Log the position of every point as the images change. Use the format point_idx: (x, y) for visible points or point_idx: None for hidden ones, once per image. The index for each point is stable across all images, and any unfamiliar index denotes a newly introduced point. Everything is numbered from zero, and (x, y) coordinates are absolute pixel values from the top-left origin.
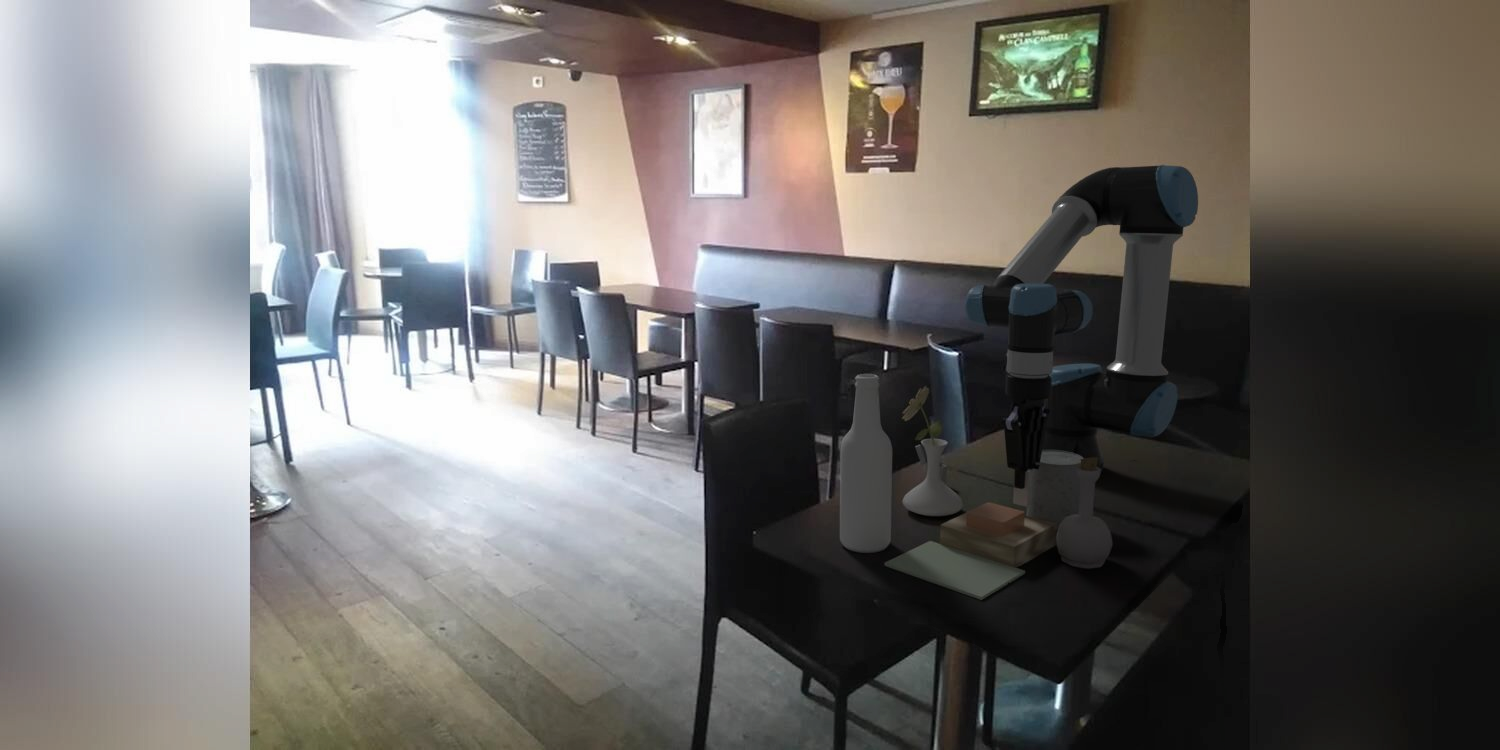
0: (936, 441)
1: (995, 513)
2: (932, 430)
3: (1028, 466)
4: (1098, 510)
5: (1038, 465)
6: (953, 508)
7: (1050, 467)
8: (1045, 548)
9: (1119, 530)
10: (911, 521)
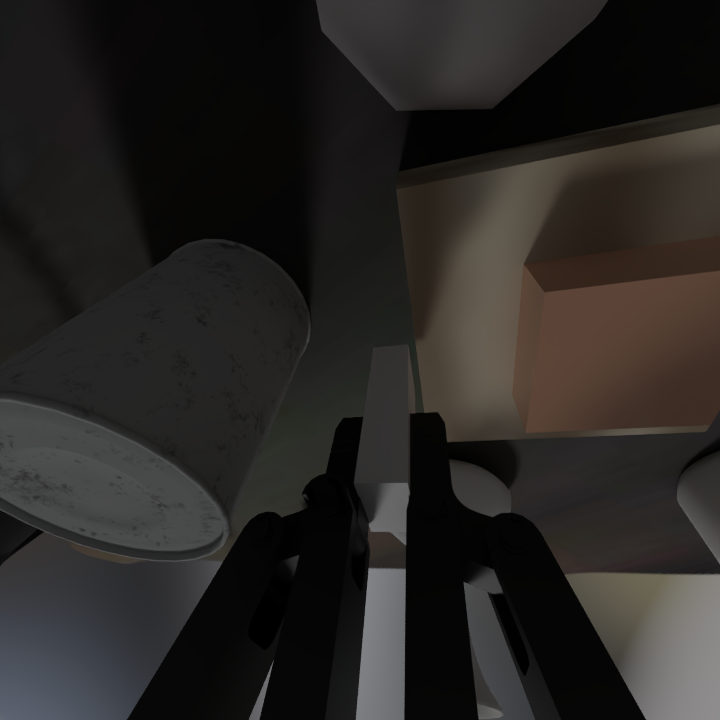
0: None
1: (660, 356)
2: None
3: (359, 514)
4: (54, 285)
5: (307, 496)
6: (451, 470)
7: (197, 454)
8: (479, 155)
9: (65, 118)
10: (525, 482)
